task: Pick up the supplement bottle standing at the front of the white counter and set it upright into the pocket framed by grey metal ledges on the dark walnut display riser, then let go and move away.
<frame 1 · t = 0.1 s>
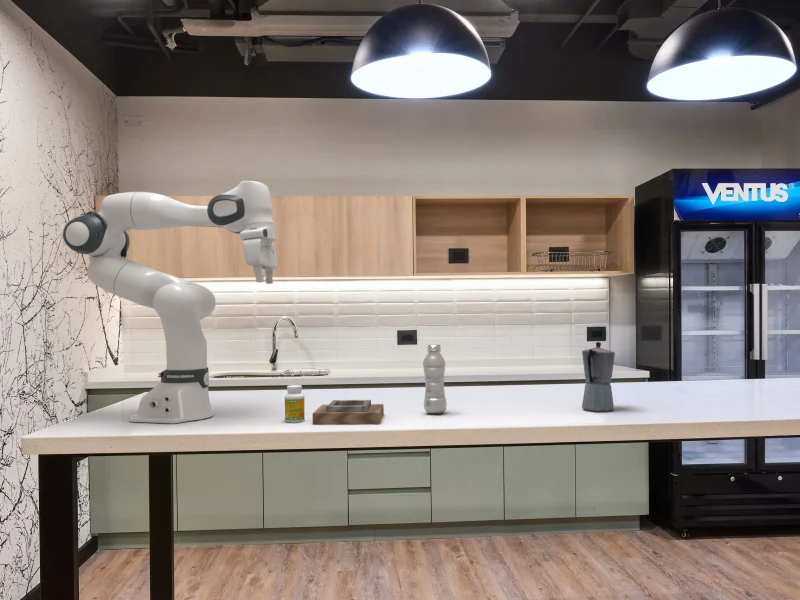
hand: (265, 283, 164), 39 cm above the table, tool pointing down, fingers open, 8 cm apart
moka pot: (598, 410, 167), on the table
plastic bottle: (435, 414, 165), on the table
display riser: (349, 419, 158), on the table
supplement bottle: (294, 421, 157), on the table
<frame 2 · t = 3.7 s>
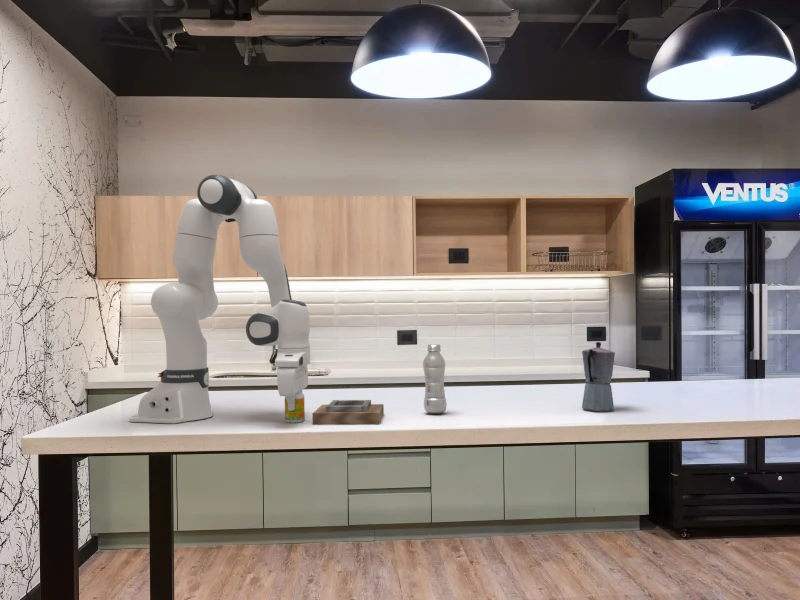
hand: (294, 407, 157), 4 cm above the table, tool pointing down, fingers closed on supplement bottle, 5 cm apart
supplement bottle: (294, 421, 157), on the table, touching gripper
everything else where it was.
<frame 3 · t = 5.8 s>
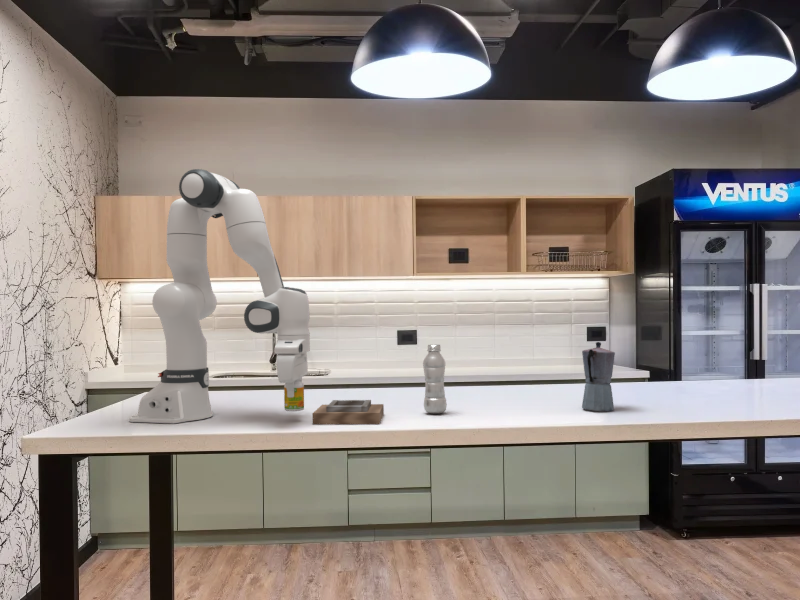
hand: (294, 395, 157), 7 cm above the table, tool pointing down, fingers closed on supplement bottle, 5 cm apart
supplement bottle: (294, 410, 157), point 3 cm above the table, touching gripper
everything else where it was.
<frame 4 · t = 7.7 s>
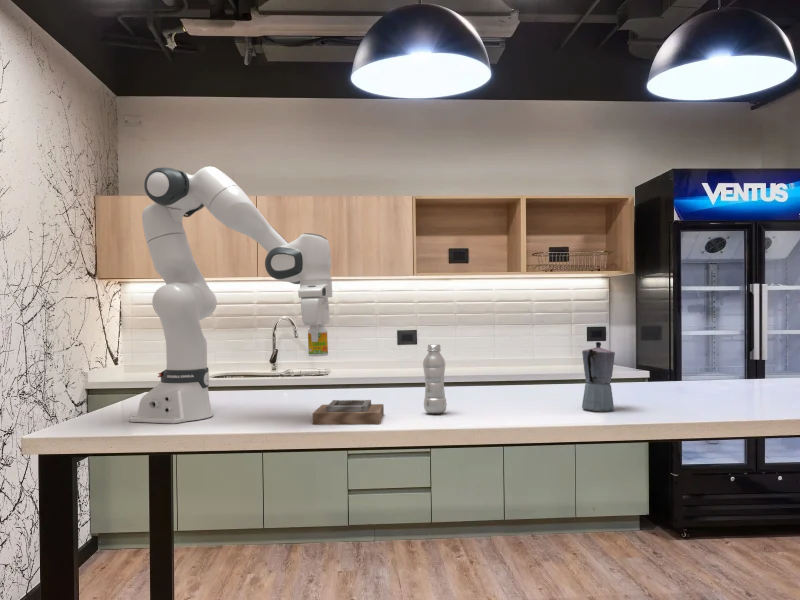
hand: (317, 341, 158), 22 cm above the table, tool pointing down, fingers closed on supplement bottle, 5 cm apart
supplement bottle: (318, 356, 158), point 18 cm above the table, touching gripper
everything else where it was.
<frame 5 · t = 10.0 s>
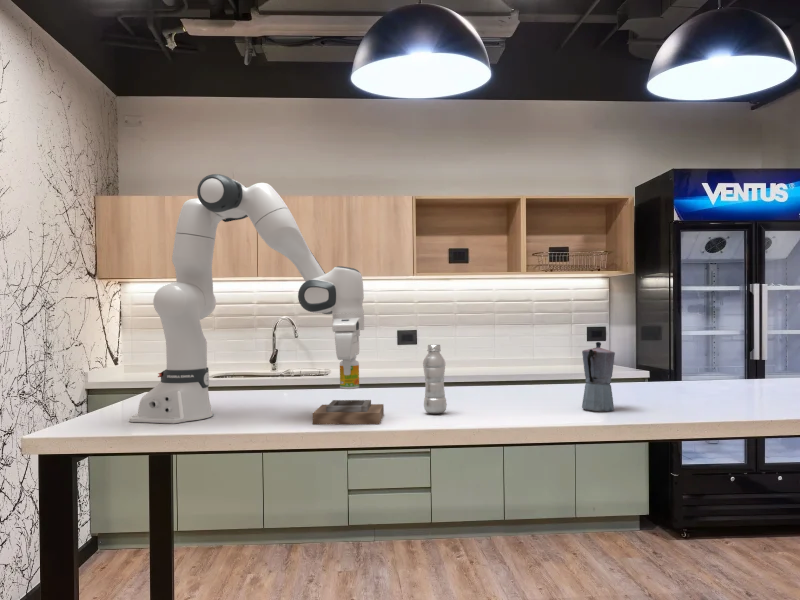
hand: (349, 373, 158), 13 cm above the table, tool pointing down, fingers closed on supplement bottle, 5 cm apart
supplement bottle: (349, 388, 158), point 9 cm above the table, touching gripper
everything else where it was.
when the fingers open (7 cm above the table, at t = 11.9 s): supplement bottle stays where it is, resting on display riser.
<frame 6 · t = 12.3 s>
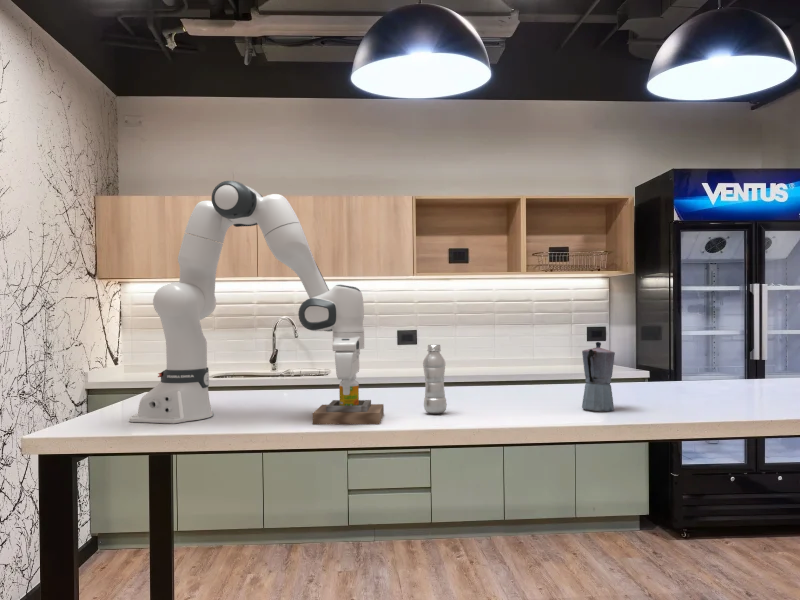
hand: (349, 392, 158), 8 cm above the table, tool pointing down, fingers open, 8 cm apart
supplement bottle: (349, 409, 159), point 3 cm above the table, touching display riser
everything else where it was.
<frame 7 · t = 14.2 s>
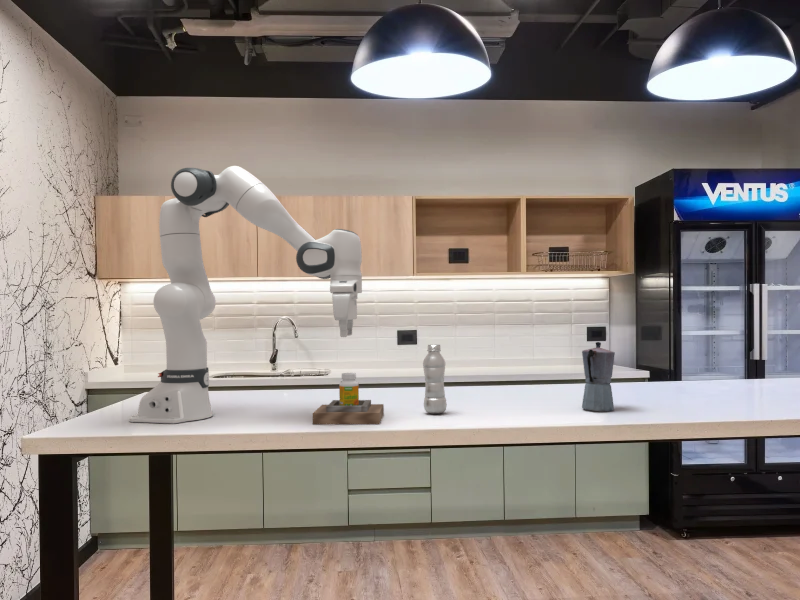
hand: (346, 336, 159), 23 cm above the table, tool pointing down, fingers open, 8 cm apart
nothing on the table moved.
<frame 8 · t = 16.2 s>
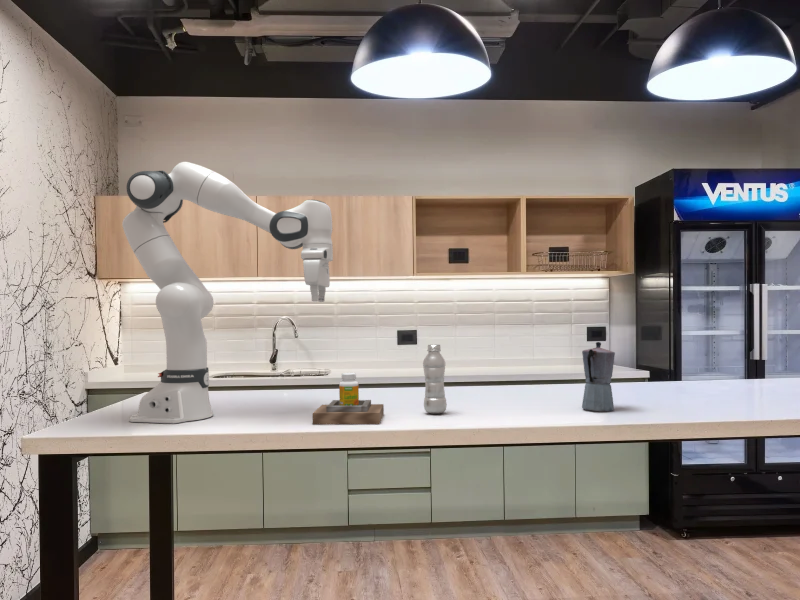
hand: (318, 301, 167), 33 cm above the table, tool pointing down, fingers open, 8 cm apart
nothing on the table moved.
at the end: supplement bottle 0.4 cm off-centre on the display riser, point 2.8 cm above the display riser's base; supplement bottle tilted 0°; the gripper is holding nothing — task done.
